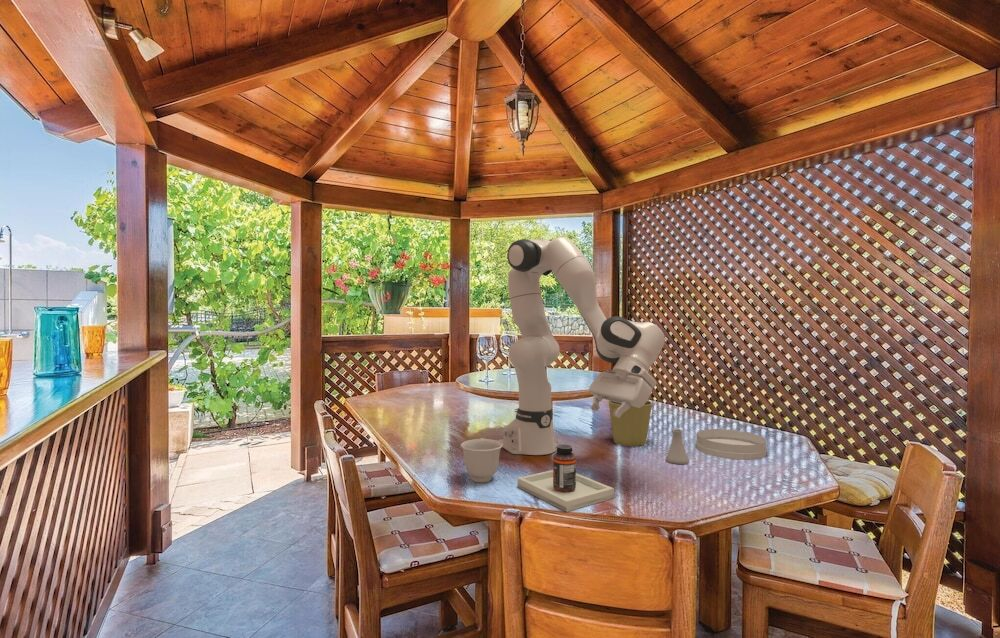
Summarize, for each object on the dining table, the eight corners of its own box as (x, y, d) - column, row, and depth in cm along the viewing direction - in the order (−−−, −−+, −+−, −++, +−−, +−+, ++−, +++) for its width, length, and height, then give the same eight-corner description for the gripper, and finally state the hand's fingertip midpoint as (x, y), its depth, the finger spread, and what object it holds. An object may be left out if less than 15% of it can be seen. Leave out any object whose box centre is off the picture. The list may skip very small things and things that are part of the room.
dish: (683, 450, 174) (683, 435, 174) (713, 439, 189) (713, 425, 189) (750, 465, 158) (750, 449, 158) (777, 451, 173) (777, 437, 173)
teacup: (502, 469, 153) (502, 436, 152) (503, 486, 138) (503, 450, 137) (462, 469, 152) (462, 436, 152) (459, 486, 137) (459, 450, 137)
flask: (691, 465, 157) (691, 433, 156) (666, 464, 158) (666, 432, 158) (687, 458, 164) (687, 428, 163) (663, 457, 165) (664, 426, 165)
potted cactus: (631, 450, 173) (632, 362, 172) (599, 440, 186) (599, 359, 185) (661, 443, 181) (662, 360, 181) (628, 434, 194) (629, 356, 194)
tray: (517, 487, 137) (517, 477, 137) (562, 476, 146) (562, 467, 146) (566, 511, 121) (566, 501, 121) (613, 498, 129) (613, 488, 129)
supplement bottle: (551, 485, 136) (551, 443, 136) (572, 484, 136) (573, 442, 136) (555, 493, 130) (555, 449, 130) (578, 492, 131) (578, 448, 130)
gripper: (598, 362, 152) (574, 400, 148) (648, 370, 134) (622, 413, 130) (611, 375, 155) (587, 412, 151) (661, 384, 136) (636, 426, 133)
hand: (604, 412), depth 140 cm, fingers open, 8 cm apart
